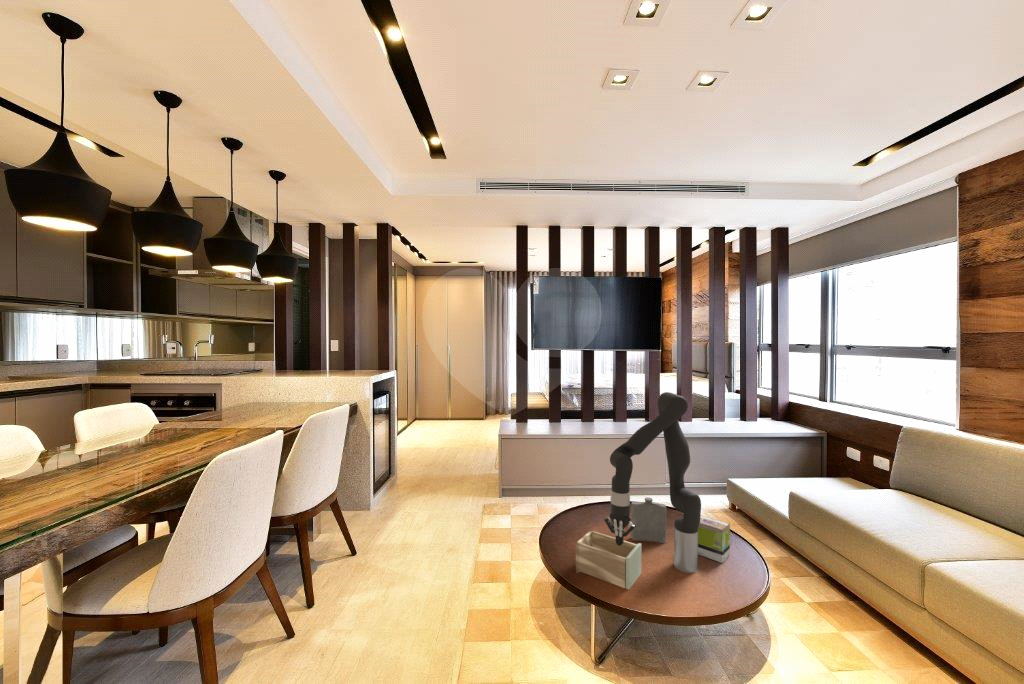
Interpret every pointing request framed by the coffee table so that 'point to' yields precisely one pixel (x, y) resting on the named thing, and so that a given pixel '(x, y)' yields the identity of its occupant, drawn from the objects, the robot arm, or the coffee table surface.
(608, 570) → the box
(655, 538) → the hip flask
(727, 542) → the tea box
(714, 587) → the coffee table surface
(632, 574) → the flat panel
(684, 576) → the coffee table surface
